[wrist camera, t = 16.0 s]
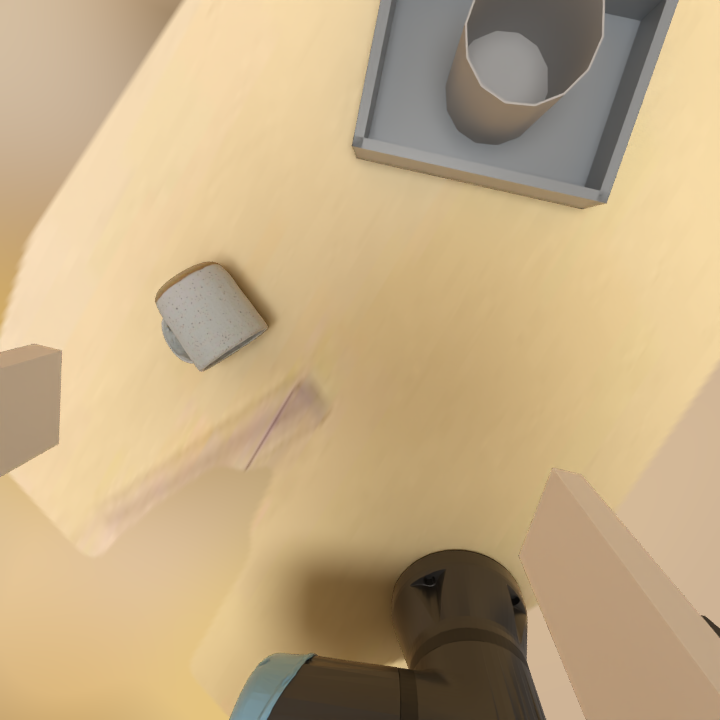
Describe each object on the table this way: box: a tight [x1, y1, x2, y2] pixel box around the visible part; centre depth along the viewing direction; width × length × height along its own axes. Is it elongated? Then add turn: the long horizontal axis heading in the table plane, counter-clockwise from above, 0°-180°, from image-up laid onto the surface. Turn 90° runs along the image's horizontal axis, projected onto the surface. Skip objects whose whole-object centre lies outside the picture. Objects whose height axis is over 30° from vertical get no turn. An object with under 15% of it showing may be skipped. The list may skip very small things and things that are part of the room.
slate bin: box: [352, 0, 678, 209], centre depth 34 cm, size 15×21×4 cm
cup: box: [446, 0, 605, 145], centre depth 30 cm, size 8×8×10 cm
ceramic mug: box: [155, 262, 268, 371], centre depth 40 cm, size 11×8×8 cm
